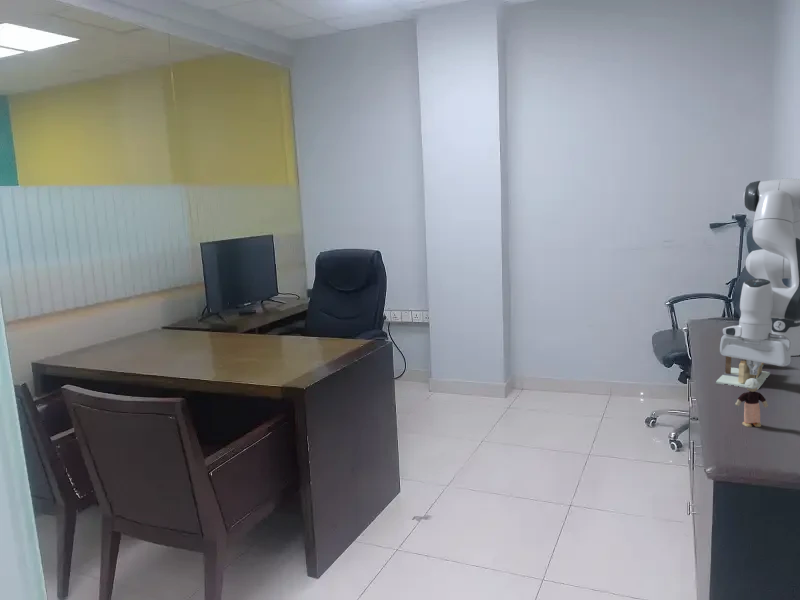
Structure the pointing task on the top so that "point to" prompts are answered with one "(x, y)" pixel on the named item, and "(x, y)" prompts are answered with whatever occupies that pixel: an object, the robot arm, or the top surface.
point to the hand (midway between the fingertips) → (753, 374)
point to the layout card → (733, 378)
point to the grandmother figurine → (751, 403)
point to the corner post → (728, 365)
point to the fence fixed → (759, 371)
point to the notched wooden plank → (744, 372)
